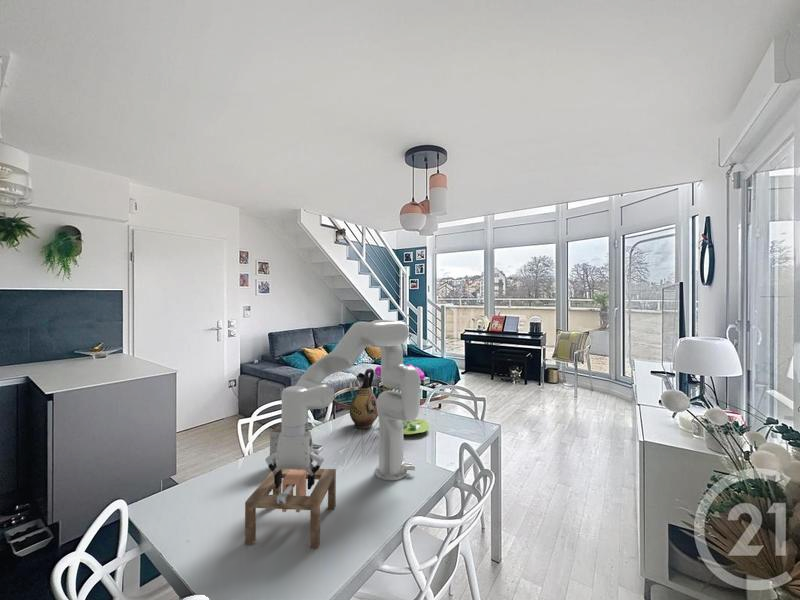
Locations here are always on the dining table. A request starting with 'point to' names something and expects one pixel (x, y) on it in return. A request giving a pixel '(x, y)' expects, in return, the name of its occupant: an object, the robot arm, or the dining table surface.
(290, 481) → the slotted peach block
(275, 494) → the open wooden frame
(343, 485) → the dining table surface
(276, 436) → the coffee box
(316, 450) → the multiport hub
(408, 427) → the flower ornament
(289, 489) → the metal guide rod
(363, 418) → the ceramic jug
